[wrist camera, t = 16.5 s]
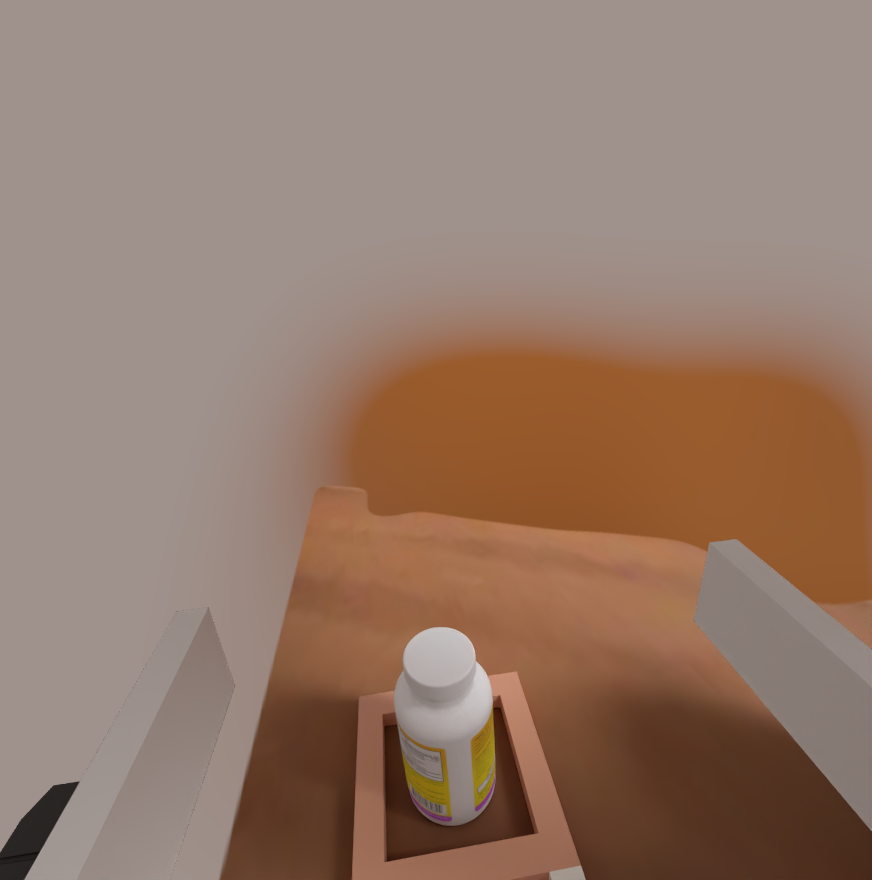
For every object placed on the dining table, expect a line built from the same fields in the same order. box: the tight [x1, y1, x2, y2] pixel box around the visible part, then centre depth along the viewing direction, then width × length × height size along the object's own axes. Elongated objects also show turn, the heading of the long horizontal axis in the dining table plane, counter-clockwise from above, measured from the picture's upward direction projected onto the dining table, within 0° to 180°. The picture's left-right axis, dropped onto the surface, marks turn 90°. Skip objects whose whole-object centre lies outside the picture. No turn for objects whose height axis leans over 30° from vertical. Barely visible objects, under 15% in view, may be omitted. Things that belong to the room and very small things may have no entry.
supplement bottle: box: [394, 627, 496, 826], centre depth 32 cm, size 7×7×13 cm
